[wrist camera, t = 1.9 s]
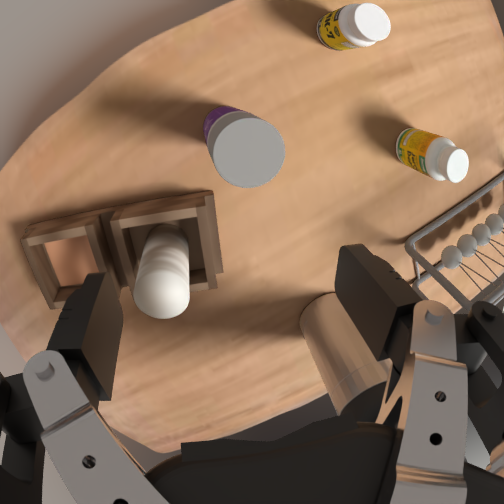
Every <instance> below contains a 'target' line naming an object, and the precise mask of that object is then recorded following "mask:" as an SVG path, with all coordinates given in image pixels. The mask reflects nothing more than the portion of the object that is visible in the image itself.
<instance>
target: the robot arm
mask: <svg viewBox="0 0 504 504" xmlns="http://www.w3.org/2000/svg"><path fill="white" fill-rule="evenodd" d="M335 292H336V293H330V294H326V295H323V296H321V297H319V298H317V299H315V300H314V301H312V302H311V303H310V304H309V305H308V306H307V307H306V308H305V309H304V311H303V312H302V315H301V317H300V321H299V324H300V328H301V331H302V334H303V336H304V338H305V340H306V342H307V345H308V347H309V349H310V352H311V354H312V356H313V359H314V361H315V363H316V365H317V368H318V370H319V372H320V375H321V377H322V379H323V382H324V384H325V386H326V388H327V391H328V393H329V395H330V398H331V400H332V402H333V405H334V407H335V409H336V411H337V414H338V416H335V417H332V418H328V419H324V420H321V421H317V422H313V423H311V424H309V425H307V426H305V427H303V428H301V429H299V430H297V431H295V432H293V433H291V434H288V435H286V436H284V437H282V438H280V439H278V440H275V441H270V442H265V441H263V442H262V441H245V440H231V439H219V440H209V441H199V442H186V443H181V452H182V454H179V455H176V456H173V457H171V458H169V459H166V460H164V461H163V462H161V463H159V464H157V465H156V466H155V467H153V468H152V469H150V470H149V471H148V472H146V471H145V470H144V469H143V468H142V467H141V465H140V464H139V463H138V462H137V461H136V460H135V459H134V457H133V456H132V455H131V454H130V453H129V451H128V450H127V449H126V448H125V446H124V445H123V444H122V443H121V441H120V440H119V439H118V437H117V436H116V435H115V433H114V432H113V431H112V429H111V428H110V427H109V425H108V424H107V422H106V421H105V420H104V418H103V417H102V415H101V414H100V412H99V411H98V405H99V401H111V397H112V389H113V382H114V375H115V368H116V361H117V355H118V349H119V344H120V338H121V333H122V327H123V312H122V308H121V305H120V302H119V299H118V295H117V292H116V289H115V286H114V283H113V279H112V276H111V274H110V273H109V272H108V271H106V272H97V273H88V274H87V276H86V278H85V280H84V282H83V285H82V287H81V289H76V290H75V291H74V292H73V293H72V294H71V295H70V296H69V297H68V298H67V300H66V302H65V304H64V306H63V309H62V312H61V313H60V316H59V320H58V321H57V323H56V325H55V328H54V330H53V333H52V336H51V338H50V341H49V343H48V346H47V349H46V351H42V352H40V353H38V354H36V355H34V356H33V357H32V358H31V359H30V360H29V361H28V362H27V364H26V365H25V368H24V370H23V373H20V374H16V375H12V376H9V377H5V378H4V376H3V375H2V374H1V372H0V436H1V431H3V432H4V433H6V440H5V446H4V451H3V458H2V465H0V504H42V483H43V468H44V467H43V466H44V456H45V448H46V450H47V452H48V454H49V456H50V458H51V460H52V462H53V464H54V465H55V467H56V469H57V471H58V473H59V474H60V476H61V478H62V480H63V482H64V483H65V485H66V487H67V488H68V490H69V491H70V493H71V495H72V496H73V498H74V499H75V501H76V503H77V504H504V314H503V313H502V311H501V310H500V309H499V308H498V307H496V306H495V305H493V304H491V303H489V302H486V301H477V302H475V303H474V304H473V305H472V307H471V309H470V312H469V314H453V313H452V312H451V310H450V309H449V308H448V307H446V306H445V305H443V304H442V303H439V302H437V301H433V300H423V299H422V298H421V297H420V296H419V295H418V294H417V293H416V292H415V291H414V290H413V289H412V287H411V286H410V285H409V284H408V283H407V282H406V281H405V280H404V279H402V277H401V276H400V275H399V274H398V273H397V272H395V269H394V268H393V267H392V266H391V265H390V264H389V263H388V262H387V261H385V260H383V259H381V258H379V257H378V256H376V255H373V254H372V253H371V252H370V251H369V250H368V249H367V248H366V247H365V246H364V245H363V244H354V245H345V246H342V247H341V248H340V251H339V257H338V264H337V271H336V277H335ZM487 354H488V355H489V356H490V358H491V359H492V360H493V362H494V363H495V365H496V366H497V367H498V369H499V370H500V372H501V374H502V383H501V386H500V387H499V388H498V389H497V388H496V386H495V385H494V383H493V382H492V380H491V379H490V377H489V376H488V374H487V373H486V372H485V370H484V369H483V367H482V366H481V363H482V361H483V360H484V358H485V357H486V355H487ZM467 414H468V416H469V418H470V419H471V421H472V423H473V425H474V427H475V428H476V430H477V432H478V434H479V436H480V438H481V439H482V441H483V443H484V445H485V447H486V449H487V451H488V453H489V455H490V464H488V465H487V467H486V470H484V469H482V468H479V467H477V466H474V465H472V464H469V463H468V462H467V460H466V458H465V447H466V434H467V433H466V432H467Z"/></svg>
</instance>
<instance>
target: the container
mask: <svg viewBox="0 0 504 504" xmlns="http://www.w3.org/2000/svg"><path fill="white" fill-rule="evenodd" d="M203 131H204V136H205V140H206V144H207V148H208V151H209V154H210V156H211V158H212V160H213V163H214V165H215V167H216V170H217V171H218V173H219V174H220V176H221V177H222V178H223V179H224V180H226V181H227V182H228V183H230V184H232V185H234V186H237V187H242V188H253V187H258V186H261V185H263V184H265V183H267V182H269V181H270V180H271V179H273V178H274V177H275V176H276V175H277V173H278V172H279V171H280V169H281V167H282V165H283V162H284V158H285V145H284V141H283V139H282V136H281V135H280V133H279V132H278V130H277V129H276V128H275V127H274V126H273V125H271V124H270V123H268V122H267V121H265V120H263V119H261V118H259V117H257V116H255V115H253V114H251V113H248V112H246V111H243V110H240V109H236V108H233V107H229V106H222V107H218V108H216V109H214V110H212V111H211V112H210V113H209V114H208V115H207V117H206V118H205V121H204V125H203Z"/></svg>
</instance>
